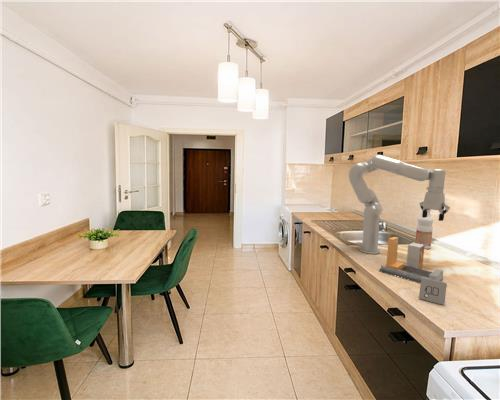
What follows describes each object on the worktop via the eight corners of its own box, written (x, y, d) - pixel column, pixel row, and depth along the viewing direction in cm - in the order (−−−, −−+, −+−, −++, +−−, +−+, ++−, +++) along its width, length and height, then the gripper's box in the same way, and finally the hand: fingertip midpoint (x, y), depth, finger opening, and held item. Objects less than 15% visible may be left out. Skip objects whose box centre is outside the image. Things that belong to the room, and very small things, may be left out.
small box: (418, 270, 156) (420, 247, 154) (405, 267, 160) (407, 244, 159) (422, 266, 161) (424, 244, 160) (410, 263, 166) (412, 242, 164)
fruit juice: (422, 249, 193) (426, 209, 189) (411, 245, 202) (415, 207, 198) (433, 248, 195) (438, 208, 191) (422, 244, 204) (426, 206, 200)
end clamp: (385, 269, 154) (387, 239, 151) (392, 265, 160) (394, 236, 157) (396, 272, 149) (399, 241, 147) (403, 268, 155) (406, 238, 153)
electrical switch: (418, 299, 123) (420, 278, 122) (419, 295, 127) (422, 275, 126) (444, 306, 117) (446, 284, 117) (445, 302, 121) (447, 281, 121)
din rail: (379, 271, 154) (380, 262, 153) (390, 265, 163) (391, 256, 162) (434, 287, 134) (435, 277, 134) (443, 279, 144) (444, 270, 143)
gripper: (417, 188, 171) (414, 216, 173) (447, 191, 155) (443, 222, 157) (425, 188, 174) (422, 215, 176) (455, 191, 158) (451, 221, 160)
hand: (432, 218), depth 167 cm, fingers open, 9 cm apart
